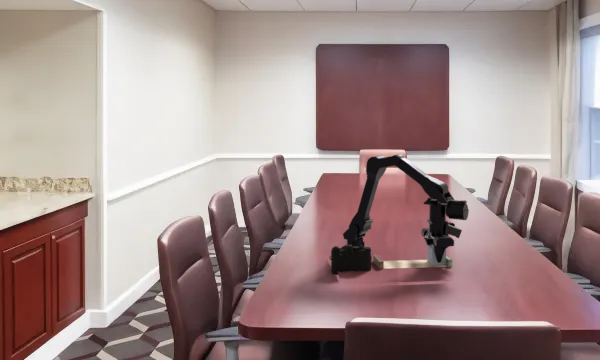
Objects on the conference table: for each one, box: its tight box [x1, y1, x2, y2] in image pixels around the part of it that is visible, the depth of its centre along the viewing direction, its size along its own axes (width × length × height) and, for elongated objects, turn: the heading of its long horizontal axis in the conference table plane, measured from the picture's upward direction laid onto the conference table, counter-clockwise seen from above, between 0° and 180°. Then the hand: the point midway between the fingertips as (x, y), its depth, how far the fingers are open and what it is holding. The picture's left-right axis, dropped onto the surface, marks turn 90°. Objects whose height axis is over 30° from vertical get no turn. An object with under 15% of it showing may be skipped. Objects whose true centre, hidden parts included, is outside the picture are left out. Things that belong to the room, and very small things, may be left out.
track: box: [372, 254, 453, 270], centre depth 199 cm, size 26×10×4 cm, turn 95°
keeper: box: [426, 245, 447, 265], centre depth 199 cm, size 5×6×7 cm
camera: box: [330, 244, 373, 276], centre depth 194 cm, size 14×11×10 cm
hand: (436, 260), depth 200 cm, fingers closed on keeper, 5 cm apart
